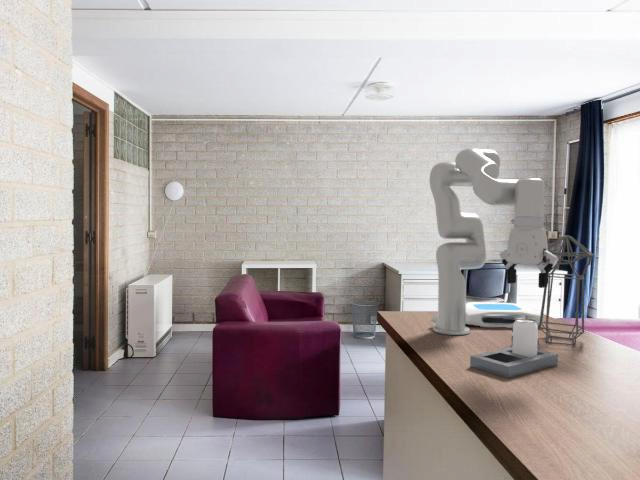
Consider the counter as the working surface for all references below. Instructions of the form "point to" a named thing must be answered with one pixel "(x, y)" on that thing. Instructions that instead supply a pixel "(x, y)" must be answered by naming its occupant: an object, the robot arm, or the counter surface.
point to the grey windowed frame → (512, 362)
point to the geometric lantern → (586, 254)
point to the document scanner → (498, 313)
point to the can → (525, 337)
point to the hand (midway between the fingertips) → (526, 285)
